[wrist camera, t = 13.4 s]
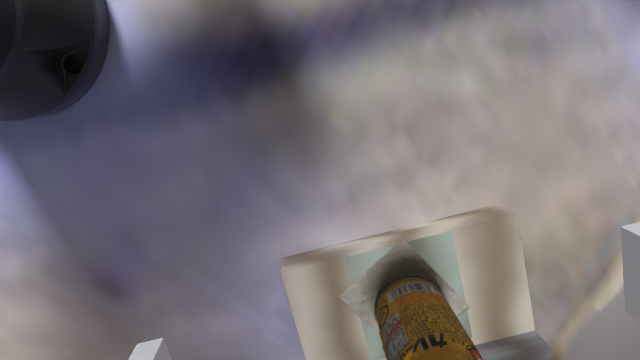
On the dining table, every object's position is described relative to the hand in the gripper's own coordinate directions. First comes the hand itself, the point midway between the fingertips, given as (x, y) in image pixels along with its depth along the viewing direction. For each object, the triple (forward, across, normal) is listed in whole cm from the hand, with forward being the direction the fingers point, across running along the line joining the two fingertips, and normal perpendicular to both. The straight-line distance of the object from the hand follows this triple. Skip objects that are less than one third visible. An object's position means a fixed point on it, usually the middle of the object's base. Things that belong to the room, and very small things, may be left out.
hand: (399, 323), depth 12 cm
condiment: (+22, +3, -13) cm, 26 cm away
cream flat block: (+25, +4, -14) cm, 29 cm away
